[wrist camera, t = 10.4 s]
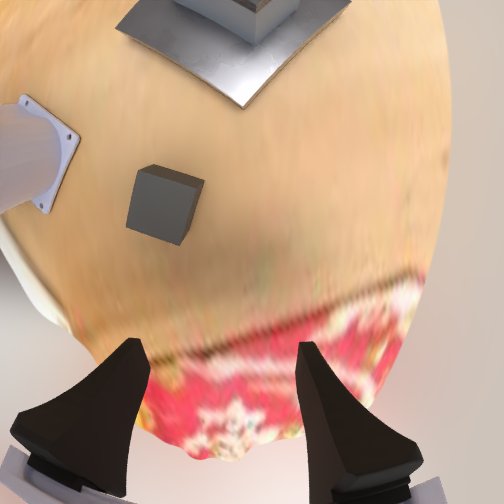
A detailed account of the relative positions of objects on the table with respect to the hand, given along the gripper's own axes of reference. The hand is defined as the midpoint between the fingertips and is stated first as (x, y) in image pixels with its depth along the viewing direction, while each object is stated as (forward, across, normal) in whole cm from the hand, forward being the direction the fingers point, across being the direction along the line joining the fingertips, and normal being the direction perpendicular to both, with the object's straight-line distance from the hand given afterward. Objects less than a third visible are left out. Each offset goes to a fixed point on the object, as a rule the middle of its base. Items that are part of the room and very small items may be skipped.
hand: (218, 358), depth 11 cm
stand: (+10, 0, -19) cm, 21 cm away
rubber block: (+11, +4, -5) cm, 12 cm away
